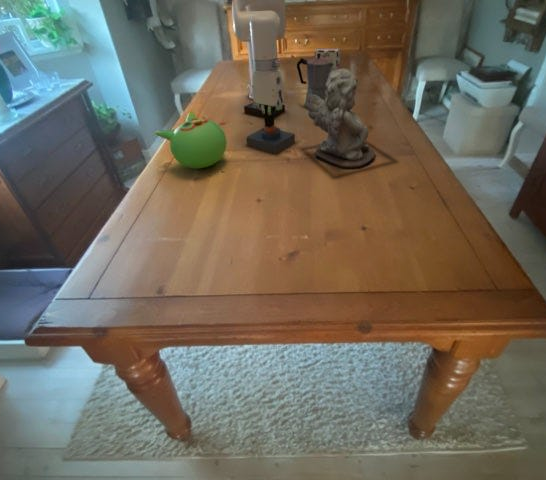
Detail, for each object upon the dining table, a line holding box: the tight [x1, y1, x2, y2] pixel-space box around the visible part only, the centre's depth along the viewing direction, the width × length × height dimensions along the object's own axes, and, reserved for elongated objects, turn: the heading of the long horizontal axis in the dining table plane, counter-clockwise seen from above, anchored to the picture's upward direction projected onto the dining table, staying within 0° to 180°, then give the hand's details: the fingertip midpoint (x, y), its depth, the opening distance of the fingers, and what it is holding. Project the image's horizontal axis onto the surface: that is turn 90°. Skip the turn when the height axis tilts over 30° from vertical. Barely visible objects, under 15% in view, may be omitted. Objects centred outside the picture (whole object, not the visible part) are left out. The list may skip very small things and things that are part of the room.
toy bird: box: [155, 110, 228, 170], centre depth 108 cm, size 18×17×15 cm
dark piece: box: [245, 126, 296, 155], centre depth 121 cm, size 13×11×5 cm
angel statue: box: [306, 67, 377, 170], centre depth 105 cm, size 22×22×25 cm
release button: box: [263, 124, 277, 133], centre depth 119 cm, size 4×4×2 cm
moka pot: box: [296, 53, 334, 108], centre depth 143 cm, size 10×15×20 cm, turn 78°
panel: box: [243, 101, 286, 119], centre depth 145 cm, size 14×10×3 cm
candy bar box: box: [314, 48, 341, 91], centre depth 163 cm, size 11×5×16 cm, turn 68°
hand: (269, 125), depth 118 cm, fingers closed
